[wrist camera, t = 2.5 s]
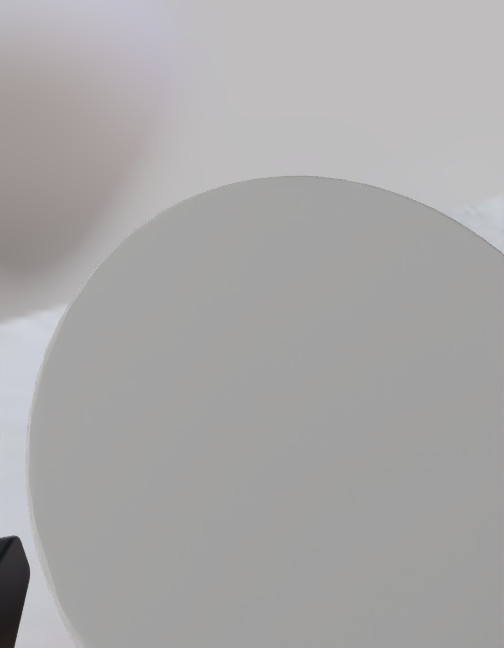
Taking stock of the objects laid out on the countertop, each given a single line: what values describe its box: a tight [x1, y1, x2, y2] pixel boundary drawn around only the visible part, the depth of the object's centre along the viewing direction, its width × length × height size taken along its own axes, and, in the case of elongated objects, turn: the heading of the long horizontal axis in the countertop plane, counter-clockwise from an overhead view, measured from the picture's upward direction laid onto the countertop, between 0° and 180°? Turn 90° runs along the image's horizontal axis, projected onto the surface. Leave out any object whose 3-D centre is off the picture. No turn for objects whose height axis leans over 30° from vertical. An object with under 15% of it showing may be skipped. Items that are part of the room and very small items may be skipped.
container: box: [26, 176, 504, 648], centre depth 10 cm, size 5×5×15 cm
